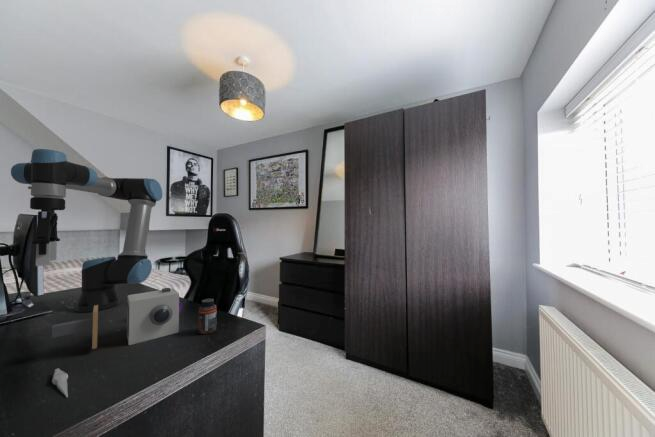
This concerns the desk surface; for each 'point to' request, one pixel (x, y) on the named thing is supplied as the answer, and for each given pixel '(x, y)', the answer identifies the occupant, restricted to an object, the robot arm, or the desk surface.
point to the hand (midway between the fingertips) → (46, 263)
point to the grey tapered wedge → (60, 381)
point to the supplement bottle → (207, 317)
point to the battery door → (79, 327)
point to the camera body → (152, 315)
